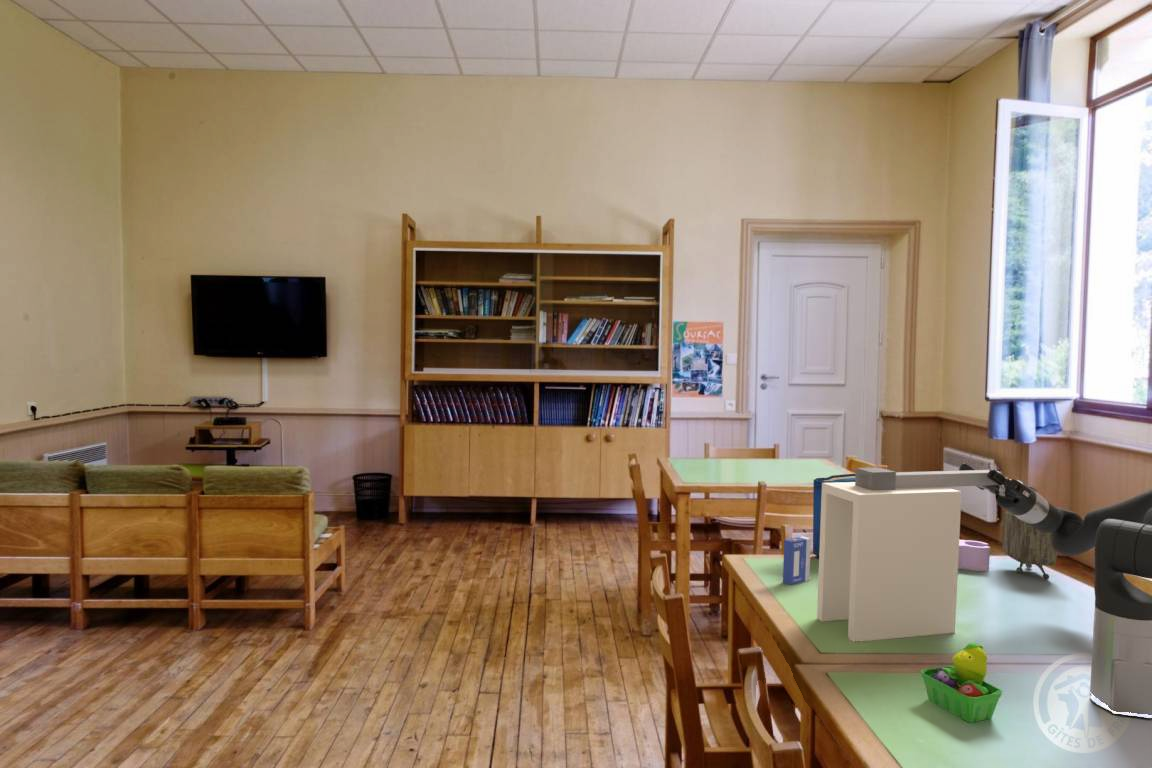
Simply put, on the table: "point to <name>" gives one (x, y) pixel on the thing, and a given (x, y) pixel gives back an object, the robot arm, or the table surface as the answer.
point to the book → (817, 504)
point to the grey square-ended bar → (919, 479)
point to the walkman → (796, 560)
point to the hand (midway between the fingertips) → (975, 469)
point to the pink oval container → (973, 555)
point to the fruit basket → (963, 685)
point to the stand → (889, 560)
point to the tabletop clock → (1027, 544)
